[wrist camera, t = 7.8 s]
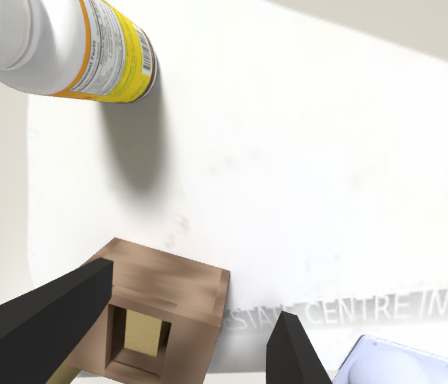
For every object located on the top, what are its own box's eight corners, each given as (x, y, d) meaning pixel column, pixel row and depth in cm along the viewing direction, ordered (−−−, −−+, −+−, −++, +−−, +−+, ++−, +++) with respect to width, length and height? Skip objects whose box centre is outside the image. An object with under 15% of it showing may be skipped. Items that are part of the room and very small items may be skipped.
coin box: (230, 271, 21) (220, 327, 15) (209, 340, 24) (195, 407, 19) (114, 237, 21) (64, 279, 16) (110, 309, 25) (67, 364, 19)
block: (182, 274, 22) (162, 316, 17) (176, 309, 24) (156, 357, 19) (154, 266, 22) (127, 306, 17) (150, 302, 24) (124, 347, 19)
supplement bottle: (78, 65, 17) (-166, -7, 7) (117, 0, 15) (-138, -218, 5) (131, 120, 17) (-21, 122, 8) (175, 64, 16) (46, -23, 6)
